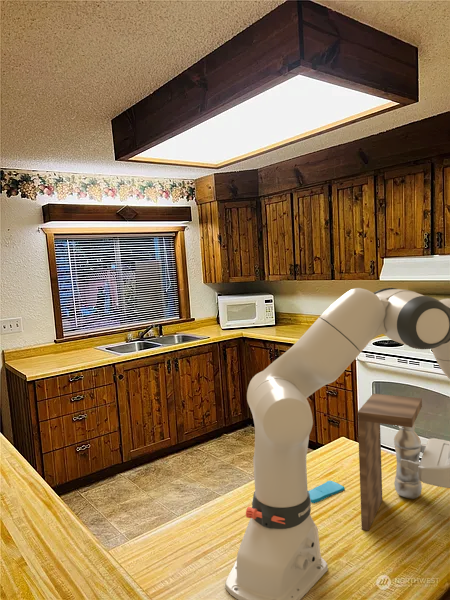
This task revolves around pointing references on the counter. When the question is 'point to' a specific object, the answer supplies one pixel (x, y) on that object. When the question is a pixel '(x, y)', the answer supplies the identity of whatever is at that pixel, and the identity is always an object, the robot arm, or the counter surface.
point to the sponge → (325, 491)
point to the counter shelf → (378, 444)
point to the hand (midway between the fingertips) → (404, 454)
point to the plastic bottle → (410, 449)
